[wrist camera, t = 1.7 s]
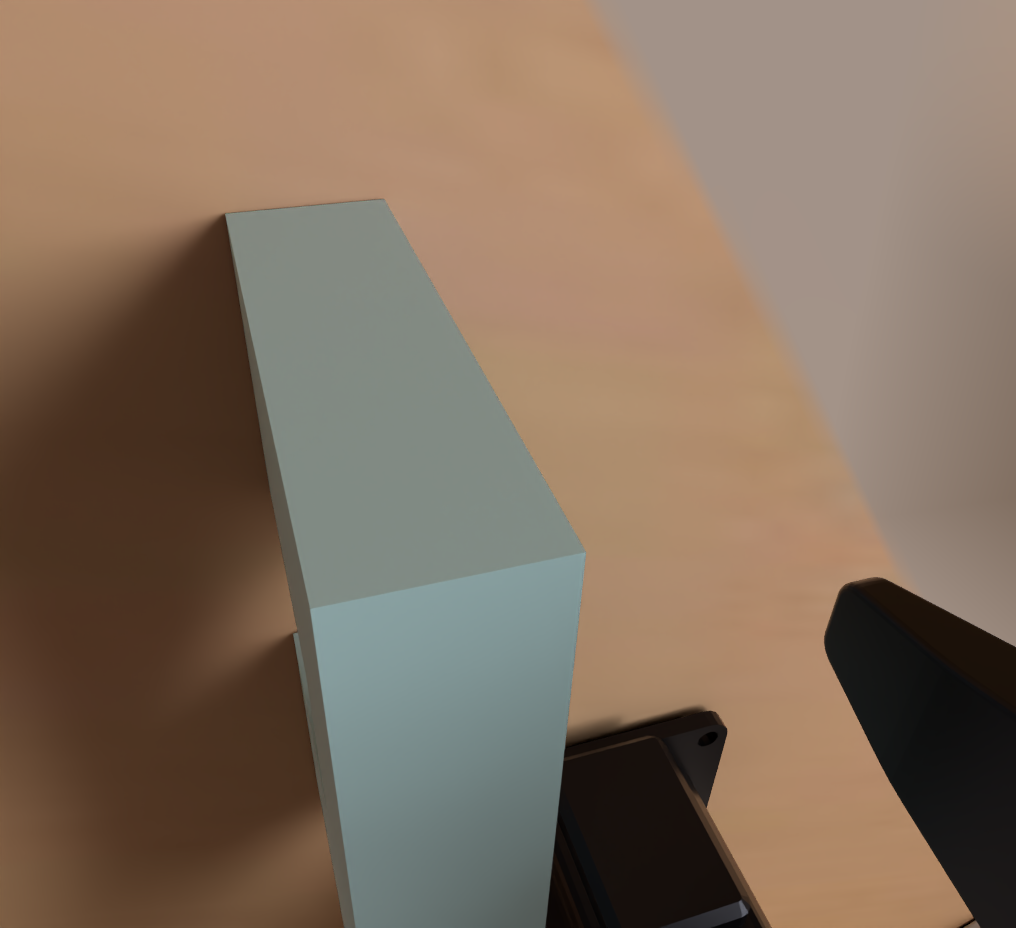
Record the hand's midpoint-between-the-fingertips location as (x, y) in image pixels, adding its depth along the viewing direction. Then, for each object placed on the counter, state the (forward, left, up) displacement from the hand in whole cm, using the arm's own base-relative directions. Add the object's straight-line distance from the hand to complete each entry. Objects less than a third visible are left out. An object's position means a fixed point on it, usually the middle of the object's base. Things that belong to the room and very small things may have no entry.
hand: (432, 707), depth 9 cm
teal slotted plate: (-3, 0, -6) cm, 7 cm away
